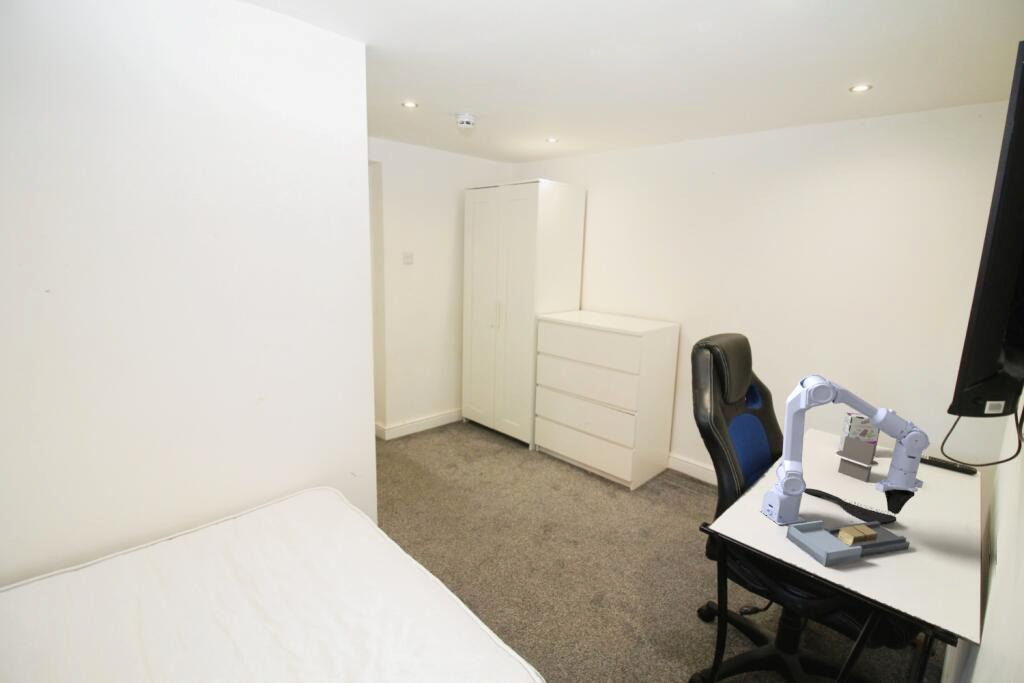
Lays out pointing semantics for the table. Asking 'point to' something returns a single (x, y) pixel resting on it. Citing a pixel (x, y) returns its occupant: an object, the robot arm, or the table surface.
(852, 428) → the candy bar box
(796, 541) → the tray
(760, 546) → the table surface
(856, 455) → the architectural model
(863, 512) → the hairbrush
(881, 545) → the slotted bar
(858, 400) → the robot arm
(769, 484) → the table surface
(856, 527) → the cream square block
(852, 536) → the brass chip
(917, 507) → the table surface
